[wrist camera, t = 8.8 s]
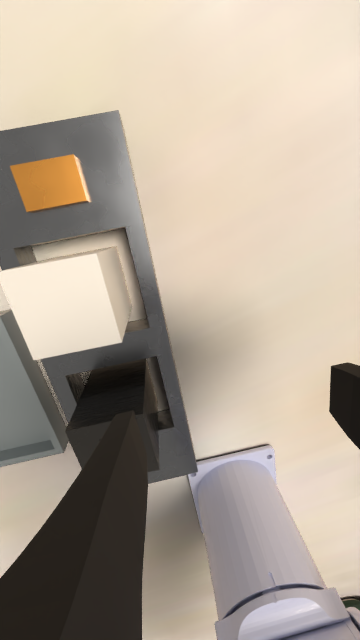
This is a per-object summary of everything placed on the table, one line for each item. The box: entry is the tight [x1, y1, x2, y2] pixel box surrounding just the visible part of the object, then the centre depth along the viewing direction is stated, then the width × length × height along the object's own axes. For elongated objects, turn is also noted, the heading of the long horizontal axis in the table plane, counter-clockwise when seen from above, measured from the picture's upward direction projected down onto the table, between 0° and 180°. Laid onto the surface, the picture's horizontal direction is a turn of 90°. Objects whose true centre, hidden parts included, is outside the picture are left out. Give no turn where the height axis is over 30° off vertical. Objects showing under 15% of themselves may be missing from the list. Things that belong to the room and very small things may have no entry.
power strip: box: [0, 110, 198, 484], centre depth 15 cm, size 24×8×6 cm, turn 11°
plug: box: [0, 246, 132, 360], centre depth 13 cm, size 4×4×6 cm
